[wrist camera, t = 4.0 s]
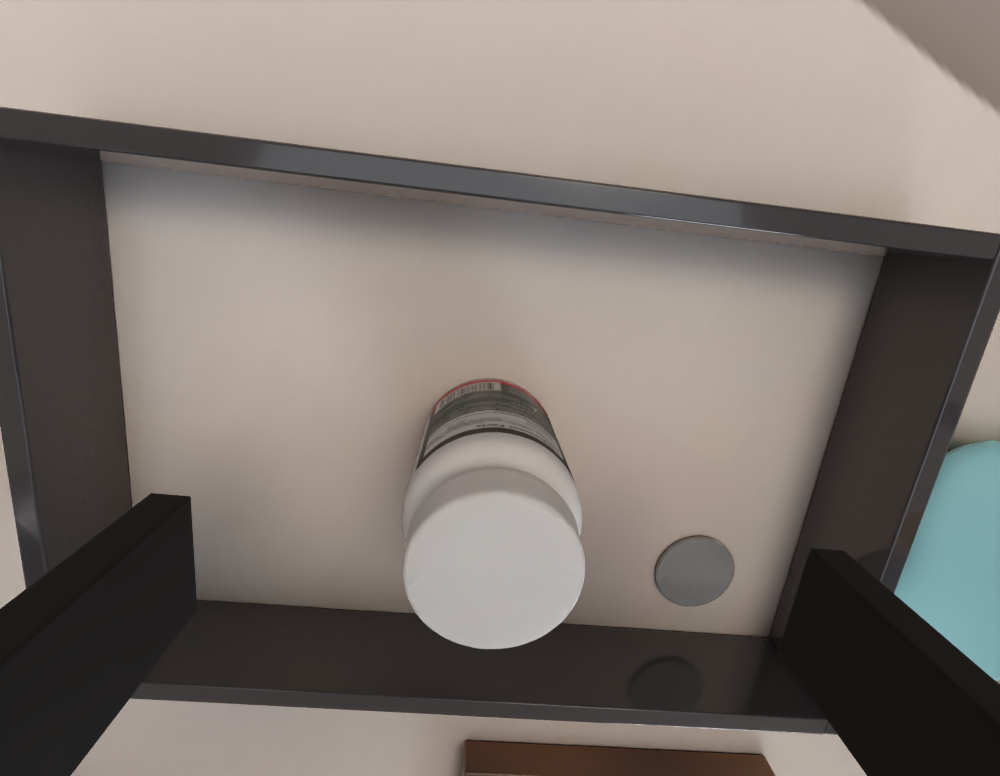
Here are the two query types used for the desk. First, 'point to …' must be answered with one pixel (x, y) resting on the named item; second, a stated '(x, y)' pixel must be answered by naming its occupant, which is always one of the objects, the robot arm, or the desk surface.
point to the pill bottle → (491, 520)
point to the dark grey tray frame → (405, 637)
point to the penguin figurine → (961, 555)
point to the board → (602, 761)
